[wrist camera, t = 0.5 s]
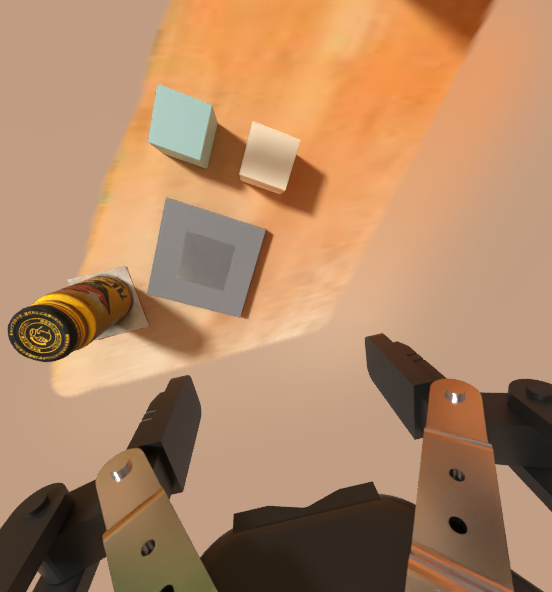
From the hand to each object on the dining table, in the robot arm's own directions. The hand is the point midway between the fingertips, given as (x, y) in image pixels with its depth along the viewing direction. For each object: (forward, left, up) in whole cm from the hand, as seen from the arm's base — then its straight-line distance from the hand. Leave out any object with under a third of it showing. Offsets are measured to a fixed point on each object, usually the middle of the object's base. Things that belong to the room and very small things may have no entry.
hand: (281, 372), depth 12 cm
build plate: (+1, -7, -24) cm, 25 cm away
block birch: (-12, -3, -24) cm, 27 cm away
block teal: (-12, -12, -24) cm, 30 cm away
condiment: (+10, -17, -24) cm, 31 cm away
